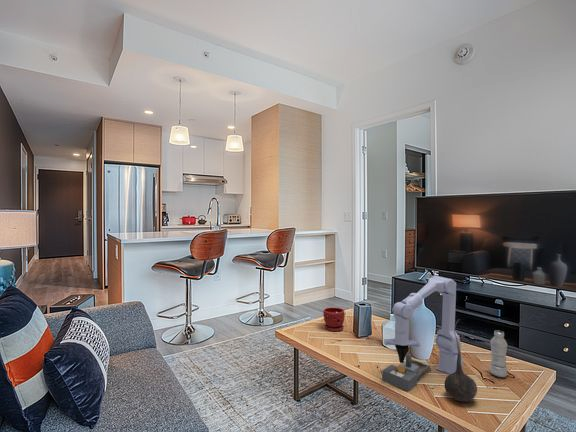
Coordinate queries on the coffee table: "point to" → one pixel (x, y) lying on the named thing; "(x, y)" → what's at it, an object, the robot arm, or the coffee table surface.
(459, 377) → the radish
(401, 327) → the robot arm
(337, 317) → the plant pot
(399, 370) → the button
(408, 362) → the carriage
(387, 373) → the grey open box
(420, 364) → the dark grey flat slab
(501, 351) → the plastic bottle
